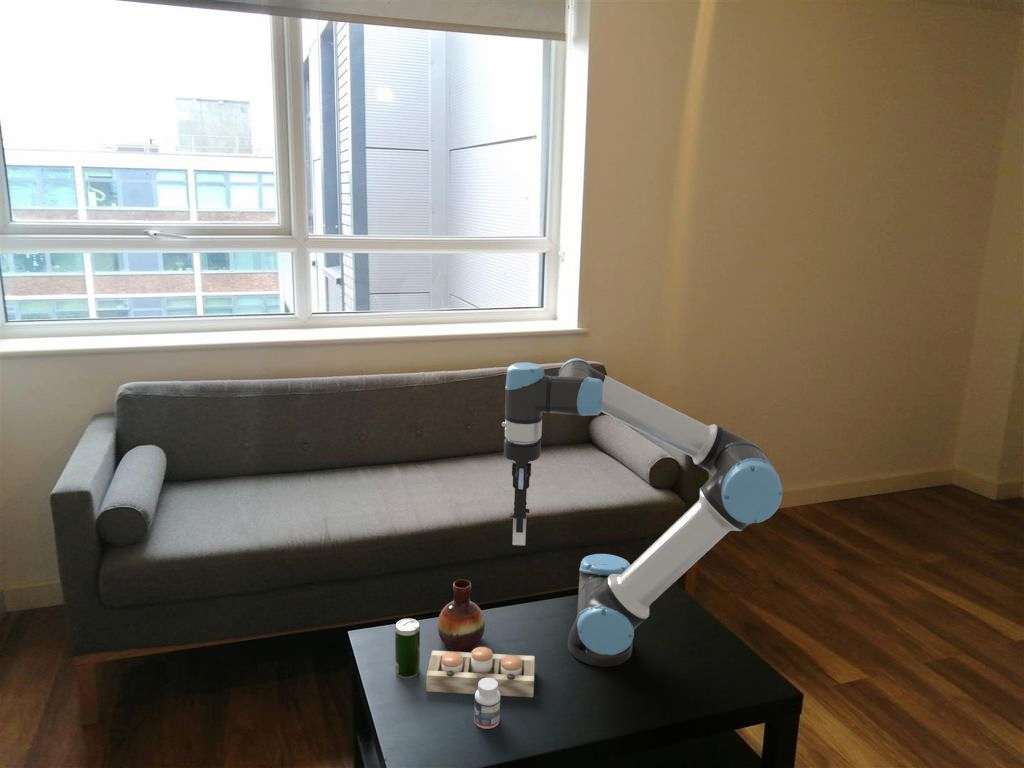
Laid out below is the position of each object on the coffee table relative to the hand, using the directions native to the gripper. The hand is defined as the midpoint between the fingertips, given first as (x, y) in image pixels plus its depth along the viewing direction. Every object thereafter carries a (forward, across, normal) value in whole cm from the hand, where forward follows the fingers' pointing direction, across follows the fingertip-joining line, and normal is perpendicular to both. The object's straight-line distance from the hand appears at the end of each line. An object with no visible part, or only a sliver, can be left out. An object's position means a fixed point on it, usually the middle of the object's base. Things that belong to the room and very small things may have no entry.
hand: (518, 543), depth 169 cm
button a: (+32, +3, -1) cm, 32 cm away
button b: (+30, +3, -7) cm, 31 cm away
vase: (+32, -12, -13) cm, 37 cm away
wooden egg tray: (+32, +3, -7) cm, 33 cm away
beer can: (+32, +1, -24) cm, 40 cm away
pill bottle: (+33, +16, -5) cm, 36 cm away
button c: (+31, +3, -14) cm, 34 cm away
